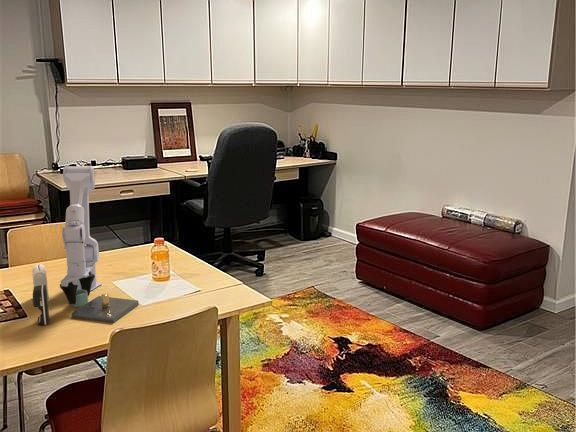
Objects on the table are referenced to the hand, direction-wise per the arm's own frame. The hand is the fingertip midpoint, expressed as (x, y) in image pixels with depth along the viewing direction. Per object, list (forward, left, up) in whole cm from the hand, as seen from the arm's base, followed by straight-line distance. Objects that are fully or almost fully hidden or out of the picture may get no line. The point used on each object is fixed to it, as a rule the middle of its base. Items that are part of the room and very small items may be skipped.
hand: (79, 299), depth 183 cm
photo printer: (-14, -1, -2) cm, 14 cm away
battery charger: (-2, -16, -2) cm, 16 cm away
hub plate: (+12, -3, -1) cm, 12 cm away
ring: (0, 0, -1) cm, 1 cm away
